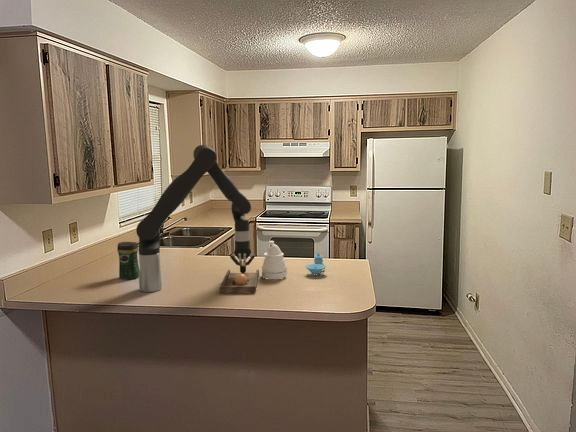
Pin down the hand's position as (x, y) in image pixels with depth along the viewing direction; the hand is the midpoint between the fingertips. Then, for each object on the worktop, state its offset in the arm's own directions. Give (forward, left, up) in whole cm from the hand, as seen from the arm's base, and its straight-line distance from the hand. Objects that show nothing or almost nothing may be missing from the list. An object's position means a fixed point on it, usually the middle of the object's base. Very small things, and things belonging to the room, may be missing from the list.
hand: (243, 273), depth 220 cm
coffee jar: (-58, +4, -3) cm, 58 cm away
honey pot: (+16, +3, -3) cm, 16 cm away
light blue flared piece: (+38, +9, -3) cm, 39 cm away
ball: (0, -14, 0) cm, 14 cm away
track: (0, -9, -3) cm, 10 cm away
